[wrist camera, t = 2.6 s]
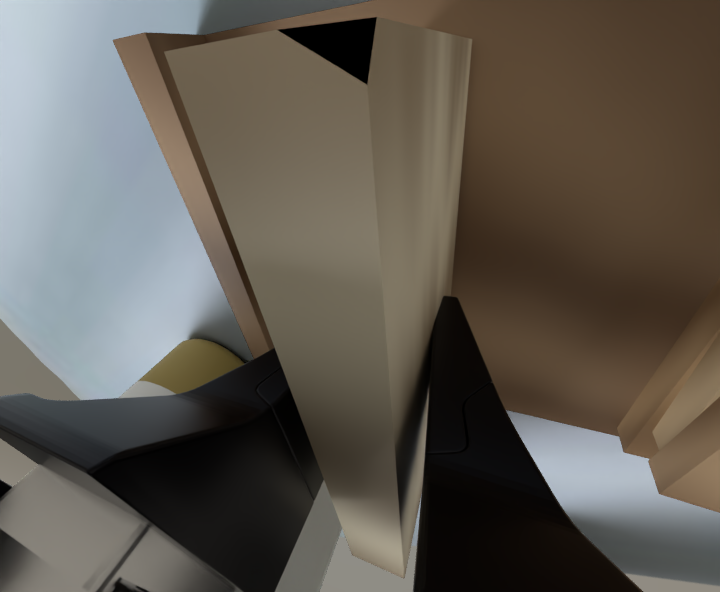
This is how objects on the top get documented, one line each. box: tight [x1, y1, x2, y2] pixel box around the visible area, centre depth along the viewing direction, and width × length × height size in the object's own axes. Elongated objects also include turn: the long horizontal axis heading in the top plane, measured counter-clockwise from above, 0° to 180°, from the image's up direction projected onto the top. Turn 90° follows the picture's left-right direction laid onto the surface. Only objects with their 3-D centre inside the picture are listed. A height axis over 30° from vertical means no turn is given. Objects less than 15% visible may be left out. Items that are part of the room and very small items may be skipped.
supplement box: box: [275, 481, 342, 592], centre depth 16 cm, size 7×7×13 cm
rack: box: [113, 0, 720, 436], centre depth 10 cm, size 14×19×3 cm
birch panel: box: [164, 17, 472, 578], centre depth 8 cm, size 12×2×7 cm, turn 7°
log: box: [119, 339, 245, 398], centre depth 14 cm, size 7×7×25 cm
